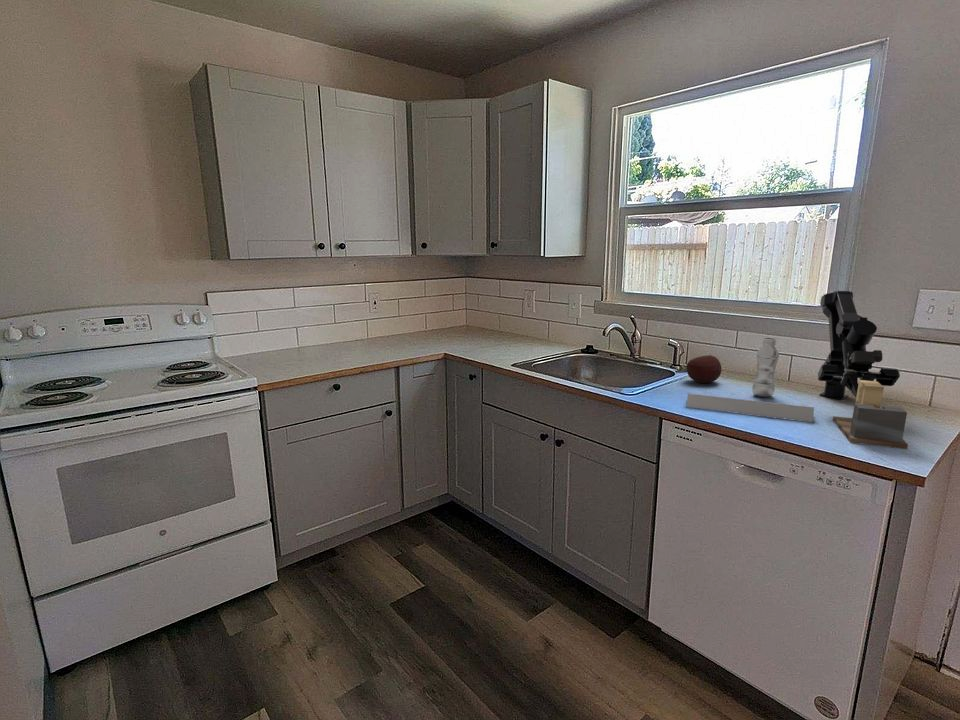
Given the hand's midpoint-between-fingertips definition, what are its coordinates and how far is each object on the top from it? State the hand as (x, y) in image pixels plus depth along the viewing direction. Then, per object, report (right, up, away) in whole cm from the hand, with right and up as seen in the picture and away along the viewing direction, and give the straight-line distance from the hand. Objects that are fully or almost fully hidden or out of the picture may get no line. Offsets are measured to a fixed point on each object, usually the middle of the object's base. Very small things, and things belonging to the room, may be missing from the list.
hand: (859, 399), depth 145 cm
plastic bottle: (-13, -1, +27) cm, 30 cm away
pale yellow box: (-3, -7, -6) cm, 9 cm away
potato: (-25, +3, +44) cm, 51 cm away
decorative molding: (-26, -5, +14) cm, 29 cm away
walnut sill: (-4, -8, -8) cm, 12 cm away
